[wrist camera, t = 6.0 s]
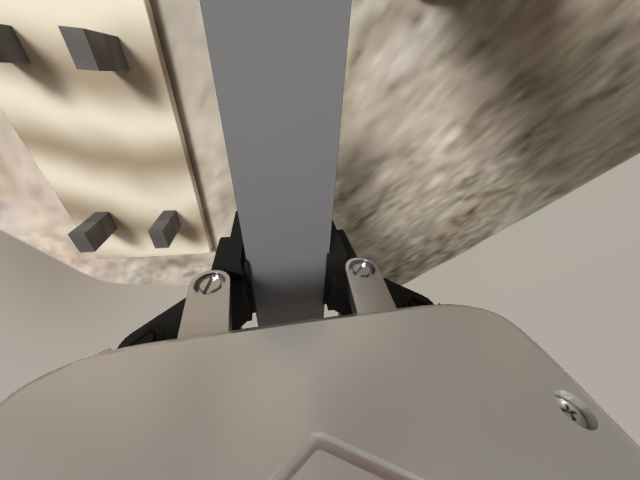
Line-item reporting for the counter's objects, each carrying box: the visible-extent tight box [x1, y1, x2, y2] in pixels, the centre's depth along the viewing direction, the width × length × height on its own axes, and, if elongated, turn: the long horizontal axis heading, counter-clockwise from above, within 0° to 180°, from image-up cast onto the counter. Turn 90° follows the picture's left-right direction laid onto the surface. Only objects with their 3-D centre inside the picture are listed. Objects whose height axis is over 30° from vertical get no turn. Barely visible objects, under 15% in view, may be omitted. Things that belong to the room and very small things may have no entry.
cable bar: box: [200, 0, 352, 327], centre depth 11 cm, size 20×3×4 cm, turn 177°
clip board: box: [0, 0, 212, 259], centre depth 19 cm, size 24×12×5 cm, turn 176°
